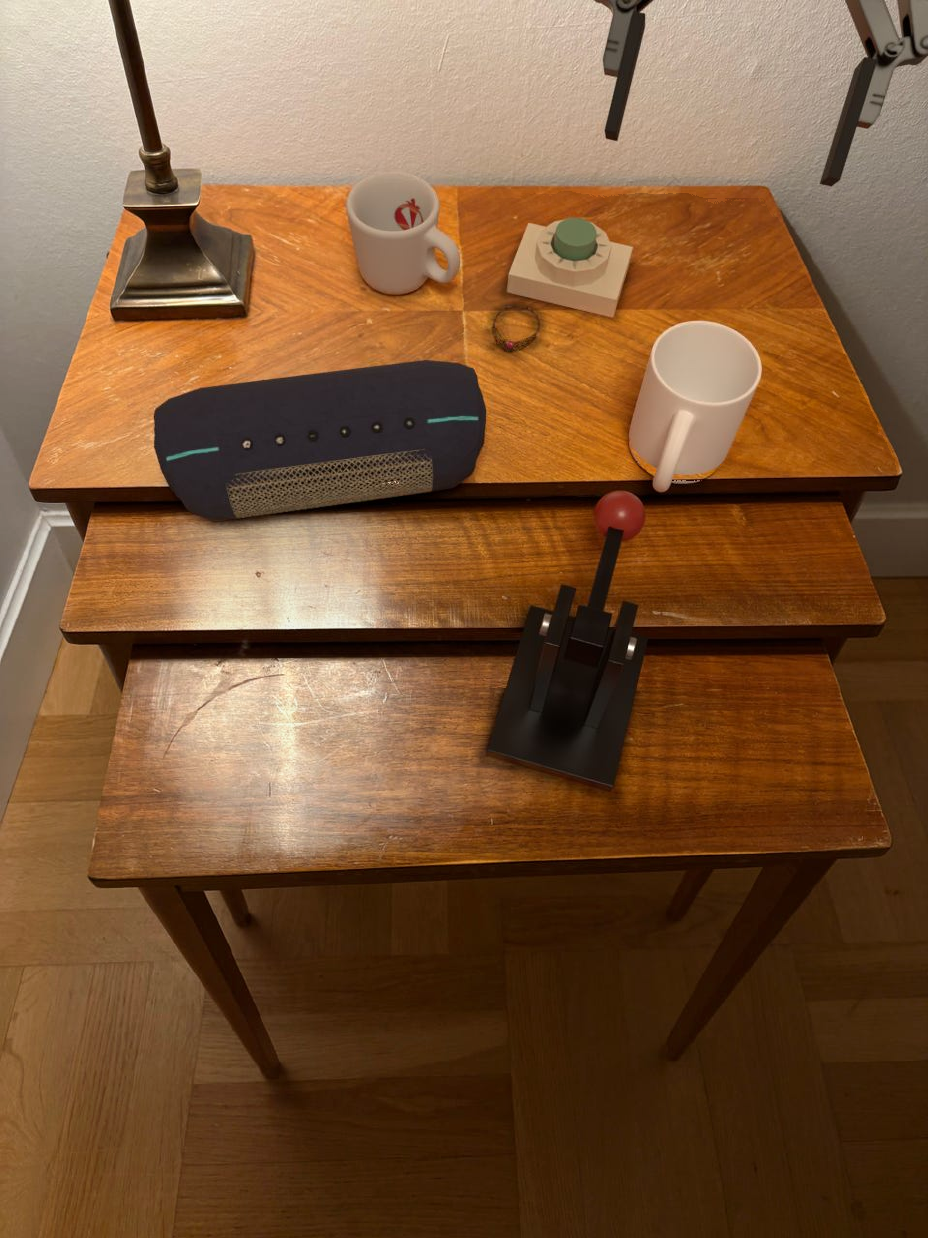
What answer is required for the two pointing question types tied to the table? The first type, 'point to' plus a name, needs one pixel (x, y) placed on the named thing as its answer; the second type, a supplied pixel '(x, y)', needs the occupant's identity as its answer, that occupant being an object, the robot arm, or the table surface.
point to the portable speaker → (321, 438)
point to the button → (575, 239)
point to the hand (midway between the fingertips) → (718, 159)
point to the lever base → (568, 698)
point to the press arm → (604, 575)
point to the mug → (693, 399)
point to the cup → (398, 233)
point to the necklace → (509, 344)
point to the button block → (569, 272)
